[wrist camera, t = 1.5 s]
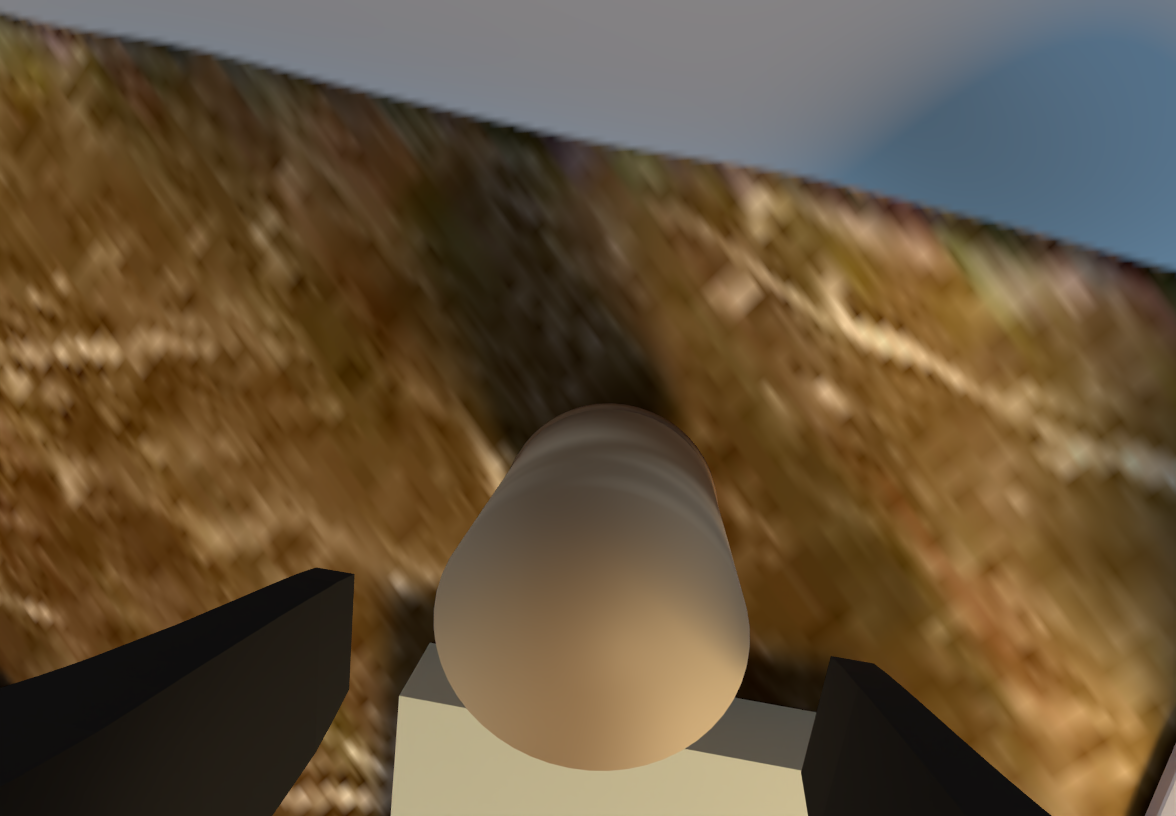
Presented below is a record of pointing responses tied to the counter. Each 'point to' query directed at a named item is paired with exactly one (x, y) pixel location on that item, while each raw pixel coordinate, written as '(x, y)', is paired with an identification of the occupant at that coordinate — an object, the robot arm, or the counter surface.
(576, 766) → the peg
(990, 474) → the counter surface
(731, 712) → the board
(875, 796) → the robot arm
